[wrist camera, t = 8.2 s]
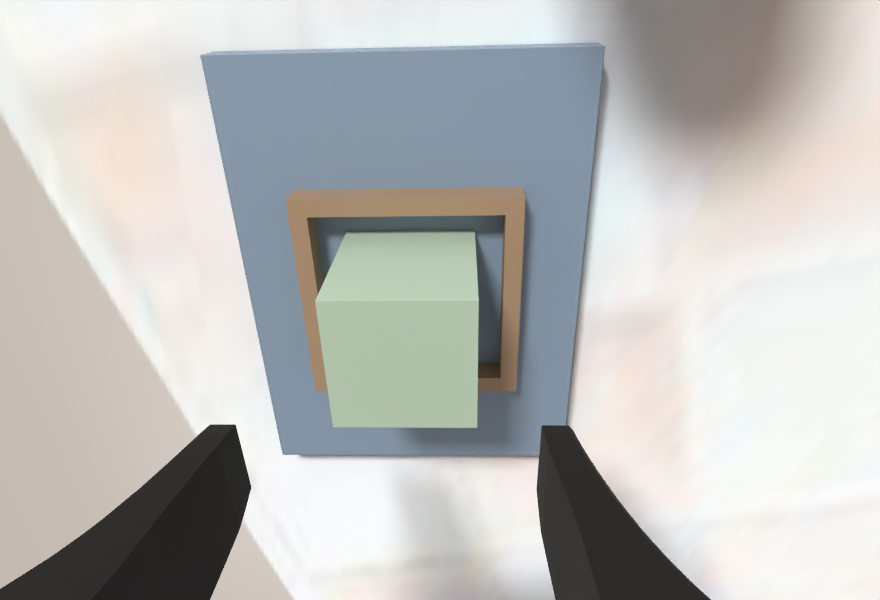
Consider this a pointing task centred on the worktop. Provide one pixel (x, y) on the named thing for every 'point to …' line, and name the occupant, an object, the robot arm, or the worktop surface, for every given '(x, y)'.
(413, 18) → the worktop surface
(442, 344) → the sage block
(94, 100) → the worktop surface
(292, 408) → the board
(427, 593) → the worktop surface
